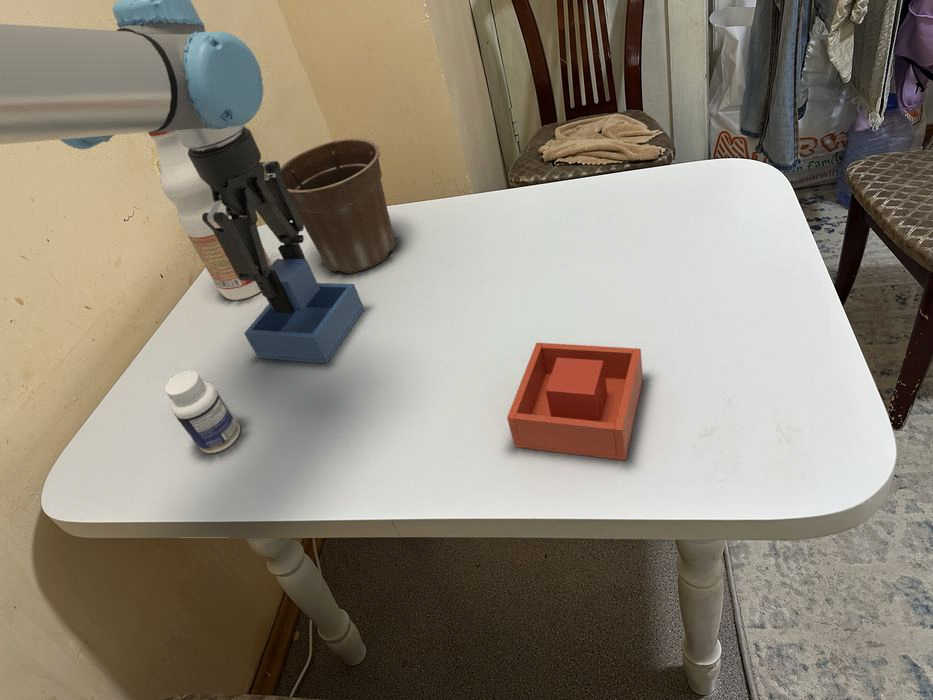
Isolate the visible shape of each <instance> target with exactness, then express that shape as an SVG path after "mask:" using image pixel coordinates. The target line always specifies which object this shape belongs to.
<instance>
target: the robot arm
mask: <svg viewBox="0 0 933 700" xmlns="http://www.w3.org/2000/svg"><path fill="white" fill-rule="evenodd" d="M112 13H113V16H114V18H115V20H116V25H117V26H118V29H116V30H108V29H94V28H93V29H91V28H75V27H60V26H59V27H58V26H41V25H23V24H9V23H8V24H7V23H4V24H3V23H0V145H12V144H22V143H23V144H24V143H35V142H47V141H48V142H49V141H60V142H62V143H64V144H66V145H67V146H68V147H71V148H74V149H78V150H89V149H92V148H94V147H96V146H98V145H100V144H102V143H108V142H109V141H111V139H112V138H113V137H114V136H118V135H130V134H140V133H141V134H143V133H148V132H163V131H176V133H177V135H178V137H179V139H180V141H181V143H182V145H183V146H184V147H186V148H189V150H188V156H189V158H190V160H191V161H192V163H193V165H194V167H195V169H196V171H197V173H198V175H199V177H200V178H201V179H202V180H203V181H204V182H206V183H207V184H208V185H209V186H210V188H211V191H212V197H213V200H214V202H215V203H214V205H213V207H212V209H211V211H210V212H209V213H204V214H203V215H202V219H203V221H204V223H205V224H206V225H207V226H209V227H210V228H211V229H212V230H213V232H214V234H215V236H216V237H217V239H218V241H219V243H220V245H221V247H222V249H223V251H224V252H225V254H226V256H227V258H228V260H229V262H230V264H231V266H232V267H233V269H234V271H235V273H236V275H237V277H238V279H239V280H240V281H256V283H257V285H258V287H259V289H260V291H261V292H260V293H261V294H262V296H263V297H264V298H266V297H268V299H269V301H270V303H271V305H272V307H273V309H274V311H275V313H293V311H294V308H293V306H292V304H291V302H290V300H289V298H288V296H287V294H286V292H285V290H284V288H283V286H282V284H281V282H280V279H279V277H278V275H277V273H276V271H275V270H269V267H268V264H267V260H266V257H265V253H264V250H263V247H264V245H263V244H262V239H261V236H260V232H259V228H258V226H257V222H259V217H260V218H261V219H262V221H263V222H264V223H265V225H266V226H267V227H268V228H269V230H270V231H271V232H272V234H273V235H274V236H275V237H276V239H277V240H278V241H279V243H281V244H280V245H279V246H278V248H277V249H278V252H279V254H280V256H281V259H306V256H305V253H304V251H303V249H302V247H301V245H300V244H302V243H303V242H304V240H305V237H304V235H303V234H300V232H302V231H304V229H305V227H304V225H303V223H302V221H301V218H300V216H299V214H298V212H297V209H296V207H295V205H294V203H293V201H292V198H291V196H290V194H289V192H288V190H287V187H286V185H285V183H284V181H283V178H282V173H281V169H280V168H281V164H280V162H279V161H277V160H274V161H273V160H272V161H261V159H262V153H261V151H260V149H259V146H258V145H257V142H256V140H255V138H254V135H253V133H252V131H251V129H249V128H247V127H245V126H246V124H247V123H249V122H250V121H251V120H253V119H254V118H255V117H256V115H257V114H258V112H259V110H260V108H261V105H262V102H263V98H264V97H263V96H264V84H263V77H262V70H261V67H260V65H259V62H258V60H257V58H256V56H255V54H254V52H253V51H252V50H251V48H250V47H249V46H248V44H247V43H245V42H244V41H243V40H242V39H241V38H239V37H237V36H236V35H234V34H232V33H230V32H226V31H207V30H206V28H205V27H206V26H205V24H204V22H203V21H202V20H201V17H200V16H199V14H198V12H197V10H196V7H195V6H194V4H193V2H192V0H117V1H115V2H114V3H113V5H112ZM258 216H259V217H258ZM262 245H263V246H262ZM256 266H257V267H256Z"/></svg>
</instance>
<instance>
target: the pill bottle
mask: <svg viewBox="0 0 933 700" xmlns="http://www.w3.org/2000/svg"><path fill="white" fill-rule="evenodd" d="M164 392H165V393H166V395H167V396H168V397H169V399H170V400H171V403H170V405H171V406H170V408H171V411H172V414H173V415H174V417H175V418H176V419H177V420H178V422H179V423H180V424H181V426H182V427H183V428H184V430H185V431H186V433H187V434H188V435H189V437H190V438H191V439H192V441H193V442H194V443H195V444H196V446H197V447H198V448H199V450H201V451H202V452H203V453H207V454H215V453H219V452H222V451H224V450H226V449H227V448H229V447H230V446H231V445H232V444H234V442H236V440H237V439H238V438H239V436H240V434H241V433H240V432H241V425H240V423H239V422H238V420H237V418H236V417H235V415H234V413H233V412H232V411H231V409H230V408H229V407H228V405H227V404H226V402H225V400H224V399H223V398H222V396H221V394H220V393H219V392H218V390H217V389H216V387H215V386H214V385H213V384H212V383H211V382H208V381H204V380H203V378H202V377H201V376H200V374H199V373H198V372H197V371H196V370H193V369H188V370H184V371H183V370H182V371H180V372H179V373H177V374H175V375H174V376H172V377H171V378H170V379H169V380H168V381H167V383H166V384H165V386H164Z"/></svg>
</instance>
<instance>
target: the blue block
mask: <svg viewBox="0 0 933 700" xmlns="http://www.w3.org/2000/svg"><path fill="white" fill-rule="evenodd" d="M271 264H272V265H271V266H270V267H269V270H275V271H276V273H277V275H278V277H279V279H280V282H281V284H282V286H283V288H284V290H285V292H286V294H287V296H288V298H289V300H290V302H291V304H292V306H293V308H294V311H303V310H304V309H305V307H306V306H307V305H308V303H309V302H310V301H311V300H312V298H313V297H314V296H315V295H316V293H317V292H318V291H319V289H320V288H319V286H318V283H319V282H318V281H317V279H316V277H315V274H314V273H313V270H312V268H311V265H310V263H309V261H308V260H307V258H305V259H283V258H276V259H275V260H274V261H273V262H272V263H271ZM265 299H266V300H267V303H268V304H270V306H271V308H272V310H274V309H273V307H272V305H271V303H270V301H269V299H268V297H265Z"/></svg>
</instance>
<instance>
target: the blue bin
mask: <svg viewBox="0 0 933 700" xmlns="http://www.w3.org/2000/svg"><path fill="white" fill-rule="evenodd" d="M317 283H318V286H319V288H320V289H319V291H318V292H317V293H316V295H315V296H314V297H313V298H312V300H311V301H310V302H309V303H308V305H307V306H306V307H305V309H304V310H303V311H293V313H275V311H274V310H272V308H271V306H270V304H269V303H268V304H267V305H266V307H265V308H264V309H263V310H262V312H261V313H260V314H259V315H258V316H257V317H256V318H255V320H254V321H253V322H252V323H251V324H250V326H249V327H248V328H247V329H246V330H245V332H243V334H244V336H245V338H246V340H247V341H248V342H249V344H250V346H251V348H252V349H253V351H254V353H255V355H256V357H257V358H258V359H266V360H267V359H268V360H277V361H278V360H280V361H289V362H291V361H293V362H305V363H316V364H317V363H318V364H328V363H329V362H330V360H331V358H332V357H333V356H334V354H335V353H336V351H337V350H338V348H339V347H340V345H341V344H342V342H343V341H344V340H345V338H346V337H347V335H348V334H349V332H350V331H351V329H352V328H353V327H354V325H355V324H356V323H357V321H358V319H359V318H360V316H361V315H362V314H363V312H364V310H365V307H364V304H363V303H362V300H361V298H360V295H359V292H358V290H357V288H356V286H355V283H337V282H336V283H333V282H331V283H329V282H317Z"/></svg>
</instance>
